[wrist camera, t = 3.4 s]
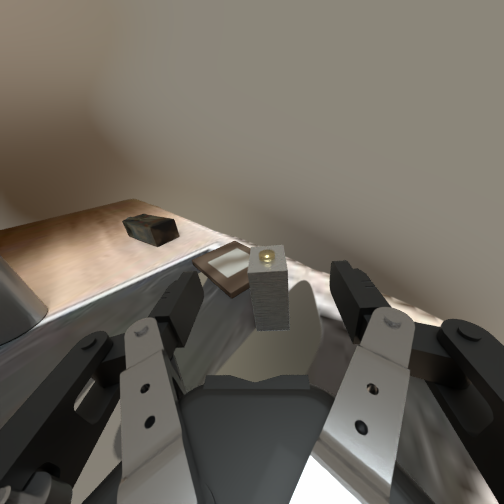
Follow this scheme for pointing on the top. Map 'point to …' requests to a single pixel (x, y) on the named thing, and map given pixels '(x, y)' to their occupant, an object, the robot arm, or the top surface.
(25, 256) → the top surface
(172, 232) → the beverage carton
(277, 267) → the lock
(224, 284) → the mount plate
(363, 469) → the robot arm
